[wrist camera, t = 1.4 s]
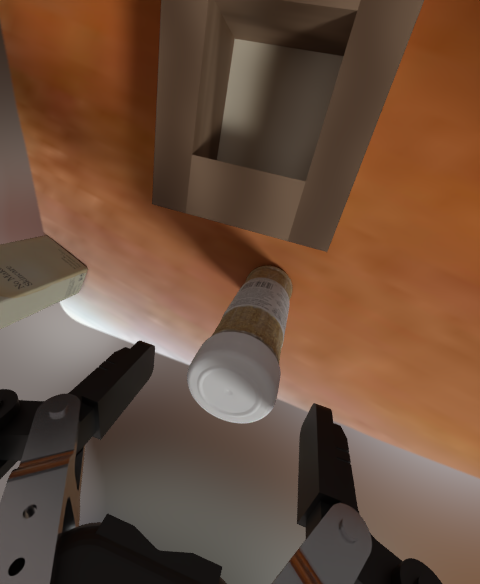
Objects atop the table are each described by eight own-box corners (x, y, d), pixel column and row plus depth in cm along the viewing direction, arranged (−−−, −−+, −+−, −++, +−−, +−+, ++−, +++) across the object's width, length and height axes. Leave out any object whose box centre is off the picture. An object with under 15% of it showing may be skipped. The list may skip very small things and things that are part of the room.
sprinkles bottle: (243, 301, 25) (182, 410, 13) (249, 259, 23) (185, 342, 11) (288, 312, 24) (266, 439, 12) (298, 269, 22) (285, 370, 10)
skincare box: (90, 267, 28) (-45, 320, 18) (79, 293, 30) (-47, 355, 20) (44, 233, 28) (-121, 265, 17) (37, 261, 30) (-115, 306, 19)
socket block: (409, -4, 14) (467, -114, 9) (322, 233, 20) (327, 251, 15) (214, -28, 16) (167, -133, 11) (190, 198, 22) (152, 204, 17)
